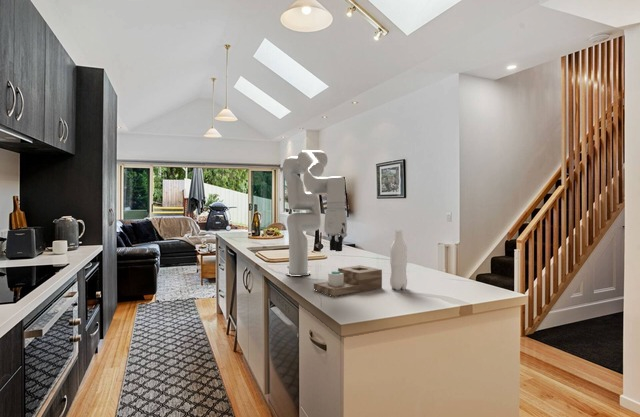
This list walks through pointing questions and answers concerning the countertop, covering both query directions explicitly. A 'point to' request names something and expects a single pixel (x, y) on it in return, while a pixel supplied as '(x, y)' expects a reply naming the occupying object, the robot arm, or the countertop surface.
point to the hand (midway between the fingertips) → (336, 250)
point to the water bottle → (398, 262)
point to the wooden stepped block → (353, 281)
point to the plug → (335, 278)
